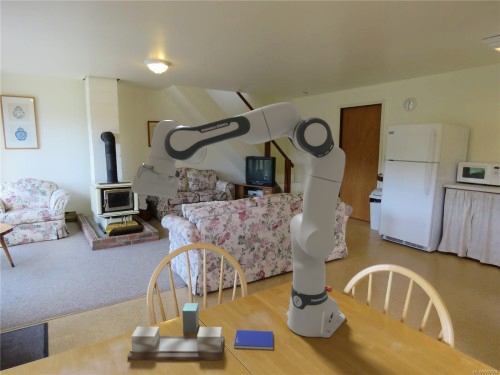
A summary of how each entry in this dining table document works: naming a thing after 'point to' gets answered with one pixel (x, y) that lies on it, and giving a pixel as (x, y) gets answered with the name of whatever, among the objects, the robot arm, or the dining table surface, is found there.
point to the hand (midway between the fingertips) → (151, 209)
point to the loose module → (190, 317)
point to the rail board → (176, 345)
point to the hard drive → (253, 339)
